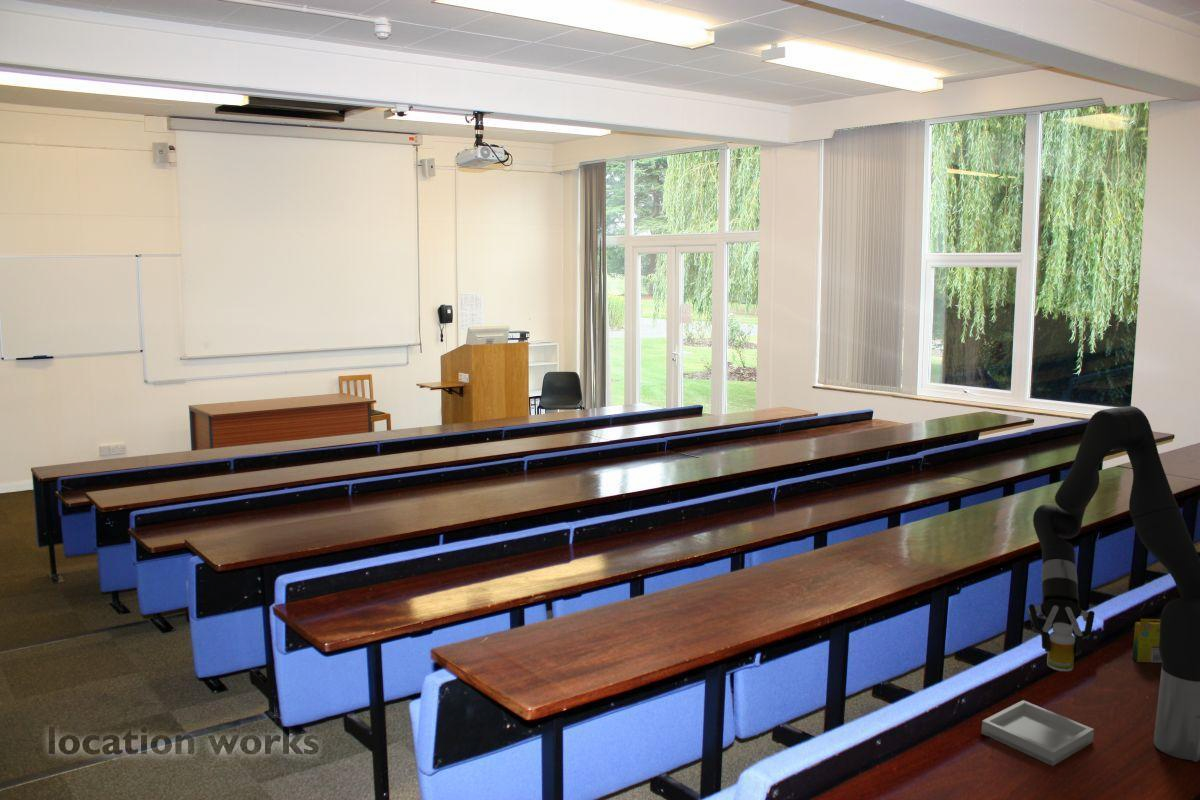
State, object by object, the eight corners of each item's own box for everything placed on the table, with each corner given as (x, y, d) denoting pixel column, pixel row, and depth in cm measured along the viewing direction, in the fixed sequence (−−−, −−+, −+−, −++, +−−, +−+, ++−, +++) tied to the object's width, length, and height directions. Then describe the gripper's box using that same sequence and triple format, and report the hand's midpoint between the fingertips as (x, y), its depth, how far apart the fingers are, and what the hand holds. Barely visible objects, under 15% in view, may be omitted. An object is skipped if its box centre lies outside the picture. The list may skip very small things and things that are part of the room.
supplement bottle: (1076, 672, 211) (1079, 631, 209) (1050, 670, 212) (1053, 629, 210) (1069, 662, 216) (1072, 622, 215) (1044, 660, 217) (1047, 620, 216)
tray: (1092, 742, 202) (1094, 729, 202) (1052, 766, 193) (1054, 752, 192) (1022, 712, 215) (1023, 700, 214) (981, 733, 206) (982, 720, 205)
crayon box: (1161, 658, 243) (1166, 615, 241) (1167, 663, 240) (1171, 620, 238) (1131, 657, 244) (1135, 614, 242) (1136, 662, 241) (1140, 618, 239)
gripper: (1027, 572, 220) (1029, 641, 211) (1096, 579, 216) (1101, 650, 206) (1024, 586, 226) (1025, 654, 217) (1091, 593, 222) (1095, 663, 212)
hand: (1062, 652), depth 212 cm, fingers closed on supplement bottle, 5 cm apart
